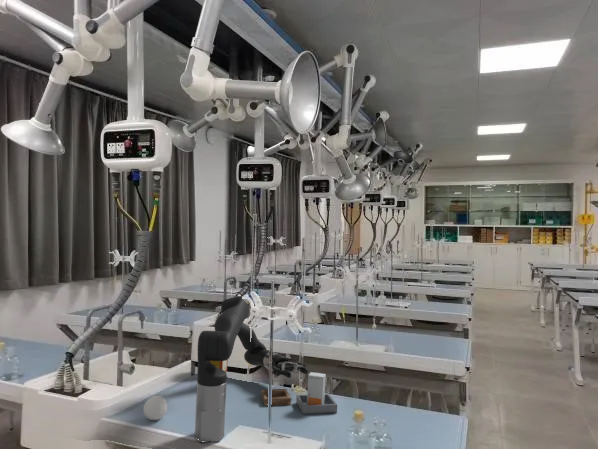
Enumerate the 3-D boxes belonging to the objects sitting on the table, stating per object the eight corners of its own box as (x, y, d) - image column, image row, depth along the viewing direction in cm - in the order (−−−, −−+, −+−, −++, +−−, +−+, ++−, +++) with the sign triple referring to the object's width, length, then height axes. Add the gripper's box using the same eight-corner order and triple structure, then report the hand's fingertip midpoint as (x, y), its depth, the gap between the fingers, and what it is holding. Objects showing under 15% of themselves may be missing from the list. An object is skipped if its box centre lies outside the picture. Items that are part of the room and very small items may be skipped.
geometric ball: (148, 428, 152) (134, 410, 151) (162, 411, 159) (148, 394, 158) (162, 422, 148) (148, 403, 148) (176, 405, 156) (162, 387, 155)
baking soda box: (221, 376, 199) (223, 340, 199) (207, 375, 200) (208, 339, 200) (227, 370, 208) (228, 336, 209) (213, 369, 209) (215, 335, 209)
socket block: (290, 404, 171) (290, 398, 171) (264, 405, 169) (265, 399, 169) (285, 395, 180) (286, 388, 180) (261, 396, 178) (261, 389, 178)
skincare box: (306, 407, 168) (307, 374, 168) (309, 402, 172) (310, 371, 172) (322, 409, 166) (323, 377, 166) (324, 405, 170) (326, 373, 170)
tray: (336, 412, 165) (337, 404, 165) (302, 414, 162) (303, 406, 162) (328, 401, 176) (328, 393, 176) (296, 402, 173) (296, 395, 173)
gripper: (262, 356, 187) (284, 366, 174) (289, 351, 195) (313, 361, 182) (261, 374, 187) (284, 386, 174) (288, 368, 195) (312, 379, 182)
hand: (298, 373), depth 178 cm, fingers open, 8 cm apart
